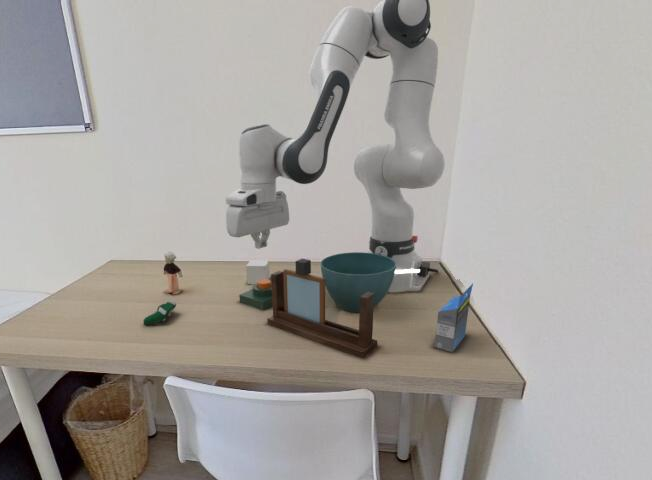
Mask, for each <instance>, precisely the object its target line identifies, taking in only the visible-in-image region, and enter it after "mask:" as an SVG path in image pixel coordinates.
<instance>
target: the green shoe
mask: <svg viewBox="0 0 652 480" xmlns="http://www.w3.org/2000/svg"><path fill="white" fill-rule="evenodd" d="M176 306H177V303H176V301H174V300H173V299H171V298H169V299H168V300H167V302H165V303H161V304H159V305H158V307H157V311H155V312H154V313H152V314H150V315H148V316H146V317H145V318H144V319H143V325H144V326H149V325H150V326H151V325H154V324H157V323H159V322H165V321H166V319H167V318H166V317H170V316H171V315H172V313H171V312H173V310H174V309H175V308H176Z"/></svg>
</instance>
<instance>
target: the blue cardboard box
mask: <svg viewBox="0 0 652 480" xmlns="http://www.w3.org/2000/svg"><path fill="white" fill-rule="evenodd" d="M473 286H474V283H471V284H470V285H469V287H468V288H467V289H466V290H465V291H463V293H462V294H461V295H457V296H453V297H451V298H450V299H449V300H448V301H447V302H446V303H445V304H444V305H443V307H441V309H440V310H439V311H438V313H437V320H436V329H435V337H434V338H435V339H434V345H433V346H434V349H438V350H441V351H446V352H447V353H453V352H454V351H455V350H456V349H457V347H458V346H459V345H460V343H461V342H462V341H463V339H464V338H465V337H466V333H467V331H466V330H467V322H468V316H469V307H470V301H471V300H470V299H471V294H472V290H473Z"/></svg>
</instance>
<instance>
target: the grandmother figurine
mask: <svg viewBox="0 0 652 480" xmlns="http://www.w3.org/2000/svg"><path fill="white" fill-rule="evenodd" d="M163 255H164V260H165V261H164V262H165V265H164V266H163V272H162V273H163V275H165V276H166V275H167V282H168V283H167V284H168V289H166V291H165V294H172V295H178V294H180V293H181V292H182V291H181V290H180V287H179V279H178V276H179V278H183V273H182V269H181V268H180V267H179V266H178V265H177V264H176V263H174V262H175V260H176V259H177V256H176V254H175V253H174V252H172V251H165V252H164V254H163ZM177 274H178V275H177Z"/></svg>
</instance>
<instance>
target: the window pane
mask: <svg viewBox="0 0 652 480" xmlns="http://www.w3.org/2000/svg"><path fill="white" fill-rule="evenodd" d="M282 272H283V282H284V309H285V312H287V313H291V314H294V315H297V316H300V317H303V318H306V319H309V320H312V321H315V322H318V323H322V324H325V320H326V286H325V278H323V276H318V275H313V274H311V273H312V261H311V259H307V258H300V259H297V260H295V270H291V269H286V268H285V269H283V270H282Z"/></svg>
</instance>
